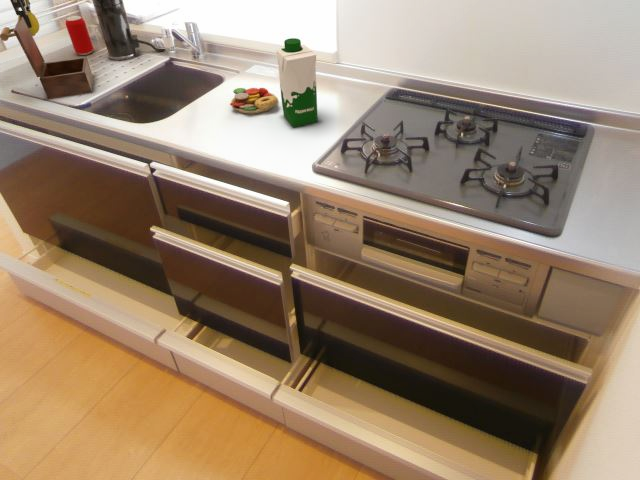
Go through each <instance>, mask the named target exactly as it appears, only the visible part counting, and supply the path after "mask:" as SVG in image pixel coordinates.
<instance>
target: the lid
mask: <svg viewBox="0 0 640 480" xmlns="http://www.w3.org/2000/svg"><path fill="white" fill-rule="evenodd" d="M13 37H16V39H17V41H18V44H19V45H20V47H21V49H22V51H23V53H24V54H25V57H26V58H27V61H28V63H29V64H30V67H31V68H32V70H33V72H34V74H35V75H36V78H40V75H41V72H42V69H43V65H44V63H46V62H45V59H44V56H43V55H42V53H41V50H40V49H39V47H38V45H37V43H36V41H35V38H34V36H32V34H31V32H30V30H29V28H28V26H27V24H26V22H25V20H24V18H23V17H20V18H19V20H18V19H17V22H16V23H15V27H13V28H9V27H7V26H5V27H3V29H2V31H1V32H0V40H1V41H2V42H3V41H4V42H6V41H8V40H9V38H13Z"/></svg>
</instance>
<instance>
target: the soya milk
mask: <svg viewBox="0 0 640 480" xmlns="http://www.w3.org/2000/svg"><path fill="white" fill-rule="evenodd" d="M301 43H302V42H301V39H300V38H291V37H290V38H287V39H285V40H284V41H283V46H284V47H283V48H279V49H276V56H277V65H278V74H279V77H278V78H279V89H280V97H281V106H282V113H283V118H285V120H286V121H287V122H288V123H289V125H290V126H291V127H292V128H293V129H294V128H297V127H302V126H306V125H310V124H313V123H318V122H319V121H318V120H319V119H318V117H319V116H318V96H317V95H318V94H317V93H318V91H317V70H316V68H317V54H316V53H315V52H314V51H313V50H312V49H311V48H309V47H308V46H307V45H305V44H301Z"/></svg>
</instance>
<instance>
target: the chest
mask: <svg viewBox="0 0 640 480" xmlns="http://www.w3.org/2000/svg"><path fill="white" fill-rule="evenodd" d="M39 81H40V84H41V86H42V88H43V91H44V93H45V96H46V98H47V100H50V99H57V98H63V97H64V98H65V97H71V96H76V95H84V94H90V93H92V92H93V84H94V83H93V81H94V74H93V72H92V69H91V66H90V63H89V60H88V57H87V56H83V57H75V58H70V59H63V60H55V61H47V62H44V65H43V69H42V72H41V75H40V77H39Z"/></svg>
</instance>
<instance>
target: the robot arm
mask: <svg viewBox="0 0 640 480" xmlns="http://www.w3.org/2000/svg"><path fill="white" fill-rule="evenodd" d="M9 1H10V3H11V6H12V8H13V10H14V12H15V15H16V16H17V17H18V16H20V17H23V18H24V20H25V22H26V24H27V26H28V28H31V27H32V25H31V22H30V20H29V17H28V13H27V11H29V12H31V13H32V11H31V2H30V0H9ZM91 2H92V5H93V8H94V11H95V14H96V18H97V21H98V25H99V27H100V30H101V34H102V37H103V40H104V44H105V47H106V50H107V53H108V57H109V59H110V60H114V61H123V60H128V59H132V58H133V57H138V50H137V48H138V49H139V48H140V44H144V45H147V46H149V47H151V48H152V49H153V50H154V51H156V52H164V51H166V48H165V49H161V48H158V47H156V46H155V45H154V44H152V43H151V42H149V41H146V40H141V39H139V37H138V35H137V34H133V32H132V29H131V25H130V22H129V19H128V16H127V11H126V8H125V4H124V1H123V0H91ZM20 9H21V10H20Z"/></svg>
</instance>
